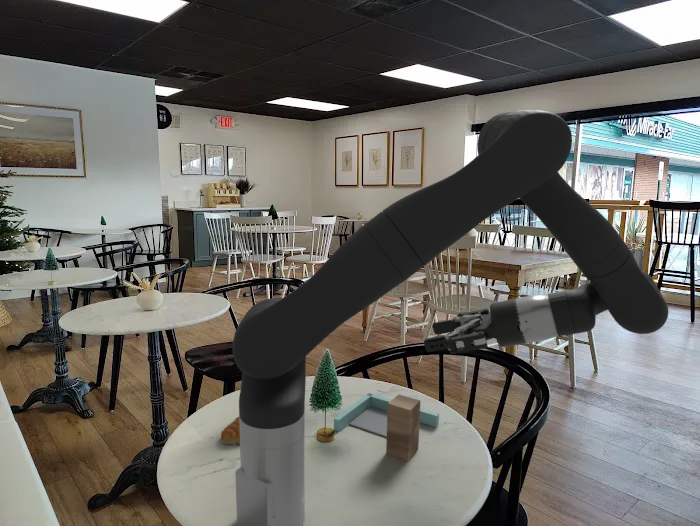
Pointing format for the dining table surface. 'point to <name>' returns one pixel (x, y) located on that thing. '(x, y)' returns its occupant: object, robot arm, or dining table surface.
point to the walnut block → (403, 427)
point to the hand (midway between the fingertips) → (429, 337)
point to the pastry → (231, 433)
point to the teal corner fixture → (375, 415)
